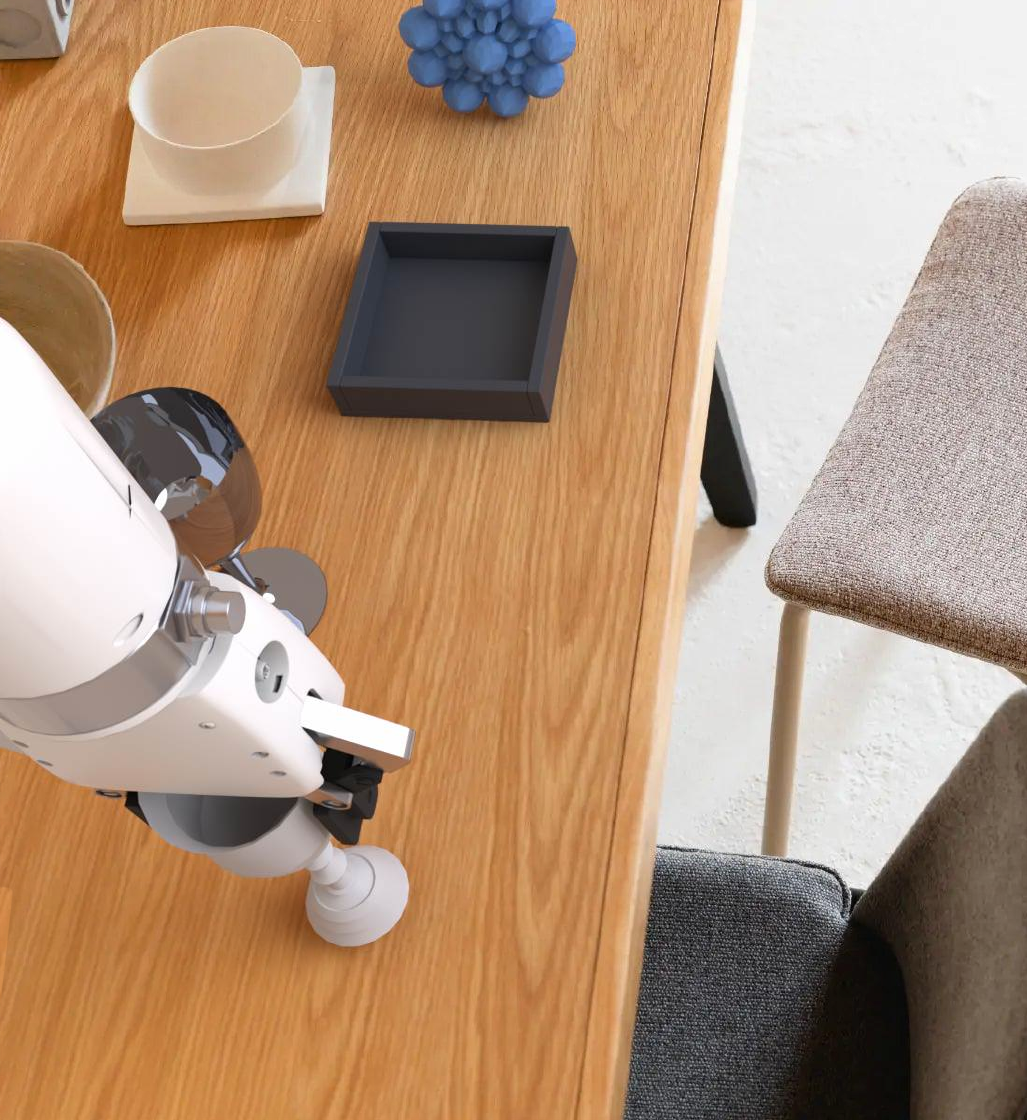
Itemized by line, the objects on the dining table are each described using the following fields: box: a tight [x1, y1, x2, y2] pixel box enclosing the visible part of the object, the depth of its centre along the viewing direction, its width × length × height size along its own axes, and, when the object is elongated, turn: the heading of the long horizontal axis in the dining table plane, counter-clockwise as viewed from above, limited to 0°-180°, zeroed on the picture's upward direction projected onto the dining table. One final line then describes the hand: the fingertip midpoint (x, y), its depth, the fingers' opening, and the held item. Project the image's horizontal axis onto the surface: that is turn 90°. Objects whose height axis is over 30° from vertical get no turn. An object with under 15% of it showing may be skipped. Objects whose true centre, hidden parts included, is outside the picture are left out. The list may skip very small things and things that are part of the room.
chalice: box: [138, 746, 410, 947], centre depth 66 cm, size 7×7×18 cm
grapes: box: [397, 0, 577, 119], centre depth 97 cm, size 12×7×12 cm, turn 87°
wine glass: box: [89, 386, 328, 637], centre depth 77 cm, size 8×8×15 cm
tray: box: [325, 221, 579, 423], centre depth 91 cm, size 13×13×3 cm
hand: (268, 804), depth 62 cm, fingers closed on chalice, 6 cm apart
